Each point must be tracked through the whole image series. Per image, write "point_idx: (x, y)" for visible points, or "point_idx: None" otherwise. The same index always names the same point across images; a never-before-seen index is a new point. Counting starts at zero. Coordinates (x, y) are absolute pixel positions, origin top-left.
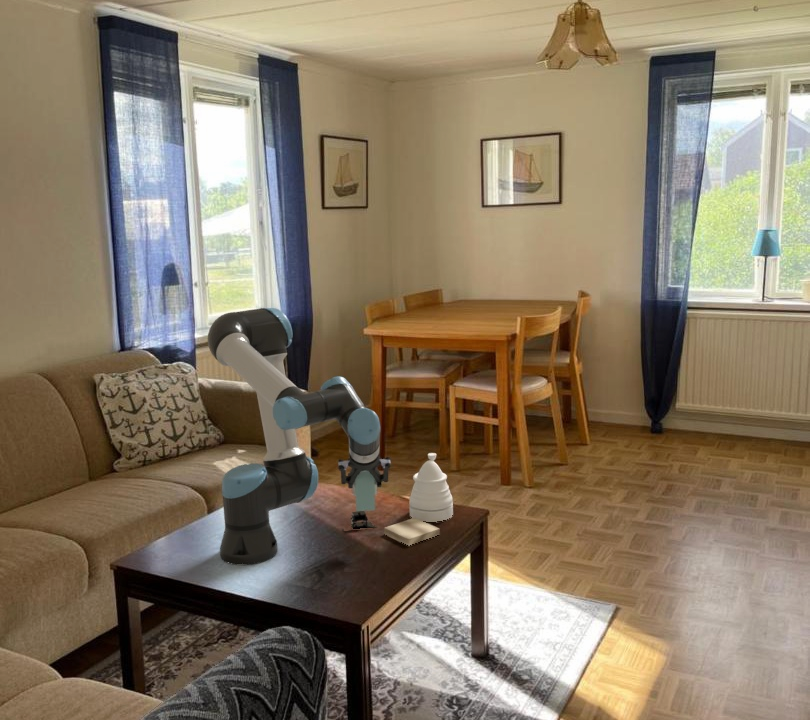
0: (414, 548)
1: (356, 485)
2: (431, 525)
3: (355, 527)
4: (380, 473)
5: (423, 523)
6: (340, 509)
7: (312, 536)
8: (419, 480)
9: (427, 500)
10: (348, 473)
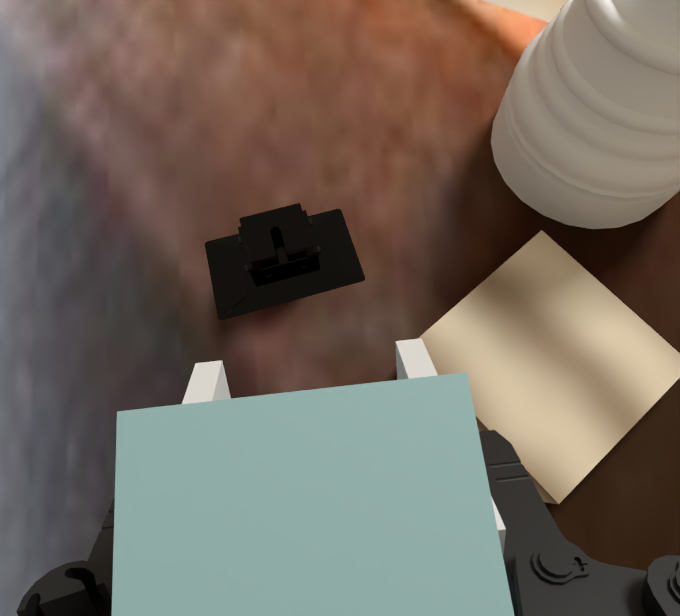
0: (577, 531)
1: None
2: (642, 324)
3: (266, 285)
4: (604, 605)
5: (597, 299)
6: (193, 92)
7: (71, 369)
8: (645, 46)
9: (638, 159)
10: (34, 596)
